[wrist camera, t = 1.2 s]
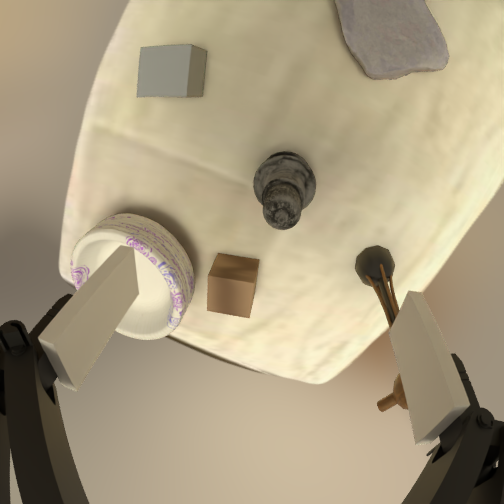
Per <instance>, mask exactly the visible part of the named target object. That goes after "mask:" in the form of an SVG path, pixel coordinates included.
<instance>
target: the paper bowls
mask: <svg viewBox="0 0 504 504" xmlns="http://www.w3.org/2000/svg"><path fill="white" fill-rule="evenodd" d="M120 245H123V246H128V247H134V252H135V262H136V272H137V280H138V288H139V295H138V296H137V298H136V299H135V301H134V302H133V304H132V305H131V307H130V308H129V310H128V311H127V313H126V314H125V316H124V317H123V319H122V320H121V322H120V323H119V325H118V326H117V328H116V330H115V331H117V332H119V333H121V334H123V335H126V336H129V337H132V338H136V339H144V340H152V339H158V338H162V337H164V336H167V335H168V334H170V333H171V332H173V331H174V330H175V329H176V327H177V326H178V325H179V324H180V322H181V320H182V318H183V315H184V313H185V312H186V310H187V308H188V305H189V304H190V302H191V299H192V296H193V293H194V287H195V277H194V272H193V267H192V265H191V261H190V259H189V257H188V255H187V253H186V252H185V250H184V248H183V247H182V246H181V244H180V243H179V242H178V240H177V239H176V238H175V237H174V236H173V235H172V234H171V233H170V232H169V231H167V230H166V229H165V228H164V227H163V226H161V225H160V224H158V223H157V222H155V221H153V220H150V219H148V218H146V217H144V216H140V215H136V214H129V213H124V214H116V215H113V216H110V217H108V218H106V219H104V220H103V221H102V222H100V223H99V224H97V225H96V226H95V227H94V228H93V229H91V230H90V231H89V232H87V233H86V234H85V235H84V236H83V237H82V238H81V239H79V241H78V242H77V243H76V245H75V247H74V250H73V253H72V257H71V273H72V278H73V281H74V285H75V287H76V289H77V291H78V290H79V288H80V287H81V286H82V285H83V284H84V283H85V282H86V281H87V280H88V279H89V277H90V276H91V275H92V274H93V273H94V272H95V271H96V270H97V269H98V268H99V267H100V266H101V265H102V264H103V263H104V261H105V260H106V259H107V258H108V257H109V256H110V255H111V254H112V253H113V252H114V251H115V250H116V249H117V248H118V247H119V246H120Z"/></svg>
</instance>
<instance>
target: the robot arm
mask: <svg viewBox="0 0 504 504" xmlns="http://www.w3.org/2000/svg"><path fill="white" fill-rule="evenodd" d="M138 295H139V288H138V280H137V272H136V262H135V252H134V247H128V246H123V245H120V246H119V247H118V248H117V249H116V250H115V251H114V252H113V253H112V254H111V255H110V256H109V257H108V258H107V259H106V260H105V261H104V263H103V264H102V265H101V266H100V267H99V268H98V269H97V270H96V271H95V272H94V273H93V274H92V275H91V276H90V277H89V279H88V280H87V281H86V282H85V283H84V284H83V285H82V286H81V287H80V288H79V290H78V291H77V292H76V293H75V294H74V295H71V294H67V295H65V296H64V297H62V298H60V299H59V300H58V301H57V302H56V303H55V304H54V305H53V306H52V309H50V310H49V311H48V312H47V314H46V315H45V316H44V317H43V318H42V319H41V320H40V322H39V323H38V324H37V325H36V326H35V327H34V328H33V330H32V331H31V332H30V333H29V334H28V332H27V330H26V328H25V325H24V324H23V323H22V322H21V321H18V320H11V321H8V322H6V323H4V324H3V325H2V326H0V504H10V448H11V454H12V460H13V465H14V470H15V475H16V479H17V484H18V488H19V492H20V495H21V499H22V503H23V504H89V502H88V499H87V497H86V494H85V492H84V489H83V486H82V484H81V481H80V478H79V475H78V472H77V469H76V466H75V463H74V460H73V457H72V454H71V450H70V447H69V443H68V440H67V436H66V432H65V428H64V424H63V420H62V415H61V411H60V406H59V401H58V396H57V391H56V387H55V384H54V381H55V380H56V378H57V377H58V379H59V381H60V382H61V384H62V386H65V387H67V388H69V389H71V390H74V391H76V392H78V390H79V388H80V386H81V385H82V383H83V381H84V380H85V378H86V376H87V375H88V373H89V371H90V370H91V368H92V366H93V365H94V363H95V361H96V360H97V358H98V356H99V355H100V353H101V351H102V350H103V348H104V347H105V345H106V344H107V342H108V340H109V339H110V337H111V336H112V334H113V333H114V331H115V330H116V328H117V326H118V325H119V323H120V322H121V320H122V319H123V317H124V316H125V314H126V313H127V311H128V310H129V308H130V307H131V305H132V304H133V302H134V301H135V299H136V298H137V296H138ZM389 337H390V340H391V343H392V347H393V350H394V354H395V357H396V361H397V365H398V368H399V372H400V376H401V380H402V384H403V388H404V392H405V397H406V401H407V405H408V410H409V414H410V419H411V424H412V428H413V434H414V439H415V445H419V444H428V443H431V442H432V441H434V440H435V439H436V438H437V437H438V436H439V438H440V443H439V444H438V445H436V446H435V447H434V448H433V449H432V450H431V451H429V452H428V454H427V456H429V455H430V454H431V453H432V456H431V457H430V459H429V461H428V462H427V464H426V466H425V468H424V470H423V471H422V473H421V474H420V476H419V478H418V480H417V481H416V483H415V484H414V486H413V487H412V489H411V491H410V492H409V493H408V495H407V496H406V498H405V499H404V501H403V502H402V504H504V422H502V421H497V420H494V417H493V415H492V414H491V412H489V411H488V410H487V409H485V408H480V406H479V403H478V401H477V398H476V395H475V392H474V390H473V387H472V385H471V382H470V381H469V377H468V375H467V373H466V370H465V367H464V365H463V363H462V361H461V360H460V359H459V358H458V357H457V355H456V354H450V351H449V349H448V347H447V345H446V342H445V340H444V338H443V336H442V333H441V331H440V329H439V327H438V325H437V323H436V321H435V318H434V317H433V315H432V312H431V310H430V308H429V306H428V304H427V302H426V300H425V299H424V296H423V294H422V292H414V291H408V293H407V295H406V298H405V300H404V302H403V304H402V306H401V308H400V311H399V313H398V315H397V317H396V319H395V321H394V323H393V325H392V327H391V329H390V331H389ZM498 460H499V461H498ZM497 461H498V467H496V462H497Z"/></svg>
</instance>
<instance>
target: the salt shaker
mask: <svg viewBox="0 0 504 504" xmlns="http://www.w3.org/2000/svg"><path fill="white" fill-rule="evenodd" d="M253 187H254V192H255V195H256V197H257V199H258V201H259V202H260V203H261V204H262V205H263V214H264V218H265V220H266V222H267V223H268V224H269V225H270V226H272V227H273V228H276V229H279V230H286V229H290V228H292V227H293V226H295V225H296V224H297V222H298V221H299V219H300V216H301V211H302V210H303V209H304V208H306V207H307V206H308V205H309V203H310V202H311V201H312V199H313V197H314V195H315V190H316V181H315V176H314V174H313V172H312V170H311V169H310V167H309V166H308V164H307V163H306V161H305V160H304V159H303V158H302V157H300V156H299V155H297V154H295V153H292V152H279V153H276V154H274V155H271V156H270V157H269V158H268V159H267V160H266V161H265V162H264V163H263V164H262V165H261V166H260V167H259V168H258V170H257V171H256V174H255V177H254V186H253Z"/></svg>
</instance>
